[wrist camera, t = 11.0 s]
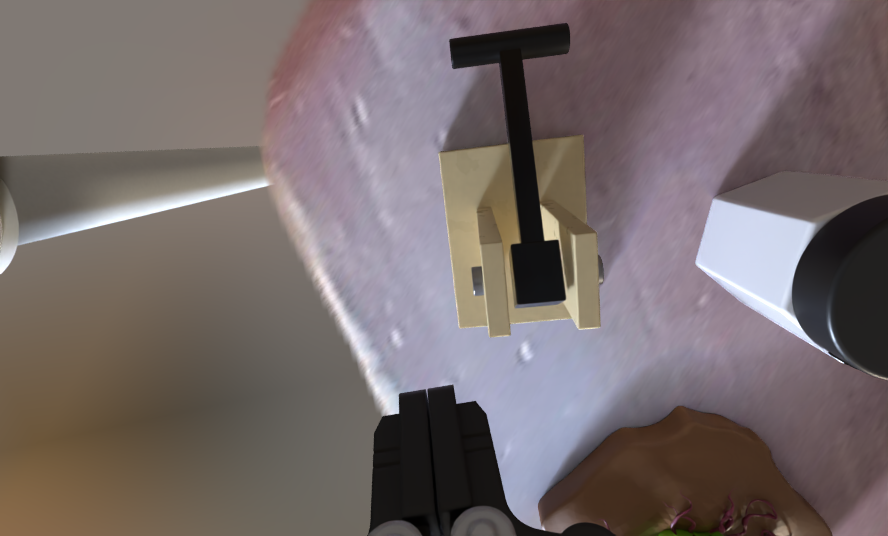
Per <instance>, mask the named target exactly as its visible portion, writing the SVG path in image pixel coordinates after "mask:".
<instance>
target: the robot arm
mask: <svg viewBox="0 0 888 536" xmlns="http://www.w3.org/2000/svg"><path fill="white" fill-rule="evenodd" d="M428 402H429V403H428ZM367 536H616V535H615V534H614V533H612V532H611V531H610V530H608V529H606V528H605V527H603V526H600V525H598V524H594V523H588V522H582V523H576V524H573V525H571V526H569V527H568V528H566V529H565V530H564V531H563V532H562V533H555V532H550V531H544V530H539V529H534V528H532V527H529V526H527V525H525V524H524V523H522V522H521V521H520V520H518V519H517V518H516V517H515V516H514V515H513V513H512V512H511V511H510V509H509V507H508V505H507V502H506V499H505V494H504V490H503V486H502V481H501V477H500V472H499V468H498V463H497V459H496V455H495V450H494V446H493V441H492V437H491V433H490V428H489V424H488V419H487V415H486V413H485V412H484V411H483V410H482V408H481V407H480V406H479V405H478V404H477V402H476V401H472V402H466V403H460V404H456V399H455V393H454V386H453V385H448V386H442V387H436V388H430V389H428V398H427V393H426V389H424V390H418V391H412V392H406V393H400V394H399V414H394V415H388V416H383V417H382V419H381V421H380V423H379V425H378V427H377V429H376V431H375V433H374V455H373V474H372V498H371V522H370V529H369V533H368V535H367Z"/></svg>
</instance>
